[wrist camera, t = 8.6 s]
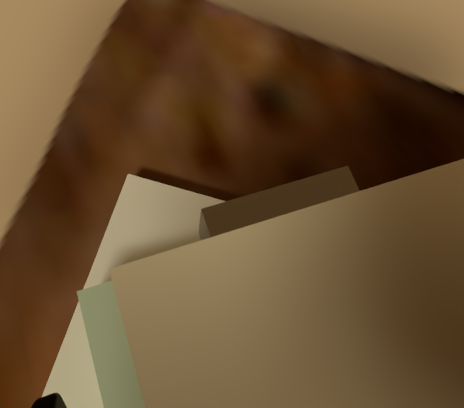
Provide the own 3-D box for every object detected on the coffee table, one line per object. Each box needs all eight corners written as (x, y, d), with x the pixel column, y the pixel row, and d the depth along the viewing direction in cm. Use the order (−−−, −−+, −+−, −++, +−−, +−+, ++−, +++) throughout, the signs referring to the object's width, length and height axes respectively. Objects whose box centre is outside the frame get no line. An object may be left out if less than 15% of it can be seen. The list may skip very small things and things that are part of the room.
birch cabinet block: (332, 424, 16) (786, 613, 4) (205, 480, 15) (290, 961, 3) (276, 277, 18) (472, 94, 6) (158, 318, 17) (90, 199, 5)
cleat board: (377, 637, 15) (431, 714, 12) (-3, 532, 15) (-57, 580, 11) (415, 263, 20) (461, 243, 16) (130, 182, 20) (119, 146, 16)
